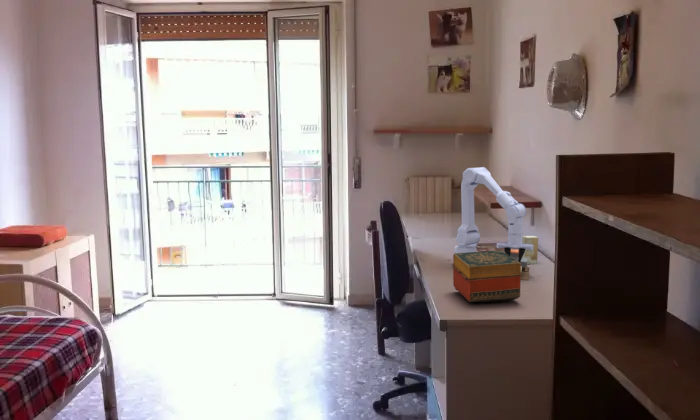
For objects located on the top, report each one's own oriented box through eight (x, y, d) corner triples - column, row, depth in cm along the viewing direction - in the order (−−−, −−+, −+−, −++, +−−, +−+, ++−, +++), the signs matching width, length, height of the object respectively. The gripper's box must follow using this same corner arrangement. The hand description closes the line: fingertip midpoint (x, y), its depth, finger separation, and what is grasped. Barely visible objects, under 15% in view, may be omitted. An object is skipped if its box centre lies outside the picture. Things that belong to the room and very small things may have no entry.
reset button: (508, 262, 259) (508, 251, 258) (509, 259, 264) (509, 249, 263) (521, 263, 258) (521, 252, 257) (521, 260, 262) (522, 249, 262)
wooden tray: (475, 276, 251) (475, 268, 251) (478, 270, 262) (478, 262, 261) (528, 280, 245) (528, 271, 244) (529, 274, 255) (529, 265, 255)
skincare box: (525, 264, 273) (526, 237, 272) (520, 262, 277) (521, 235, 276) (537, 263, 275) (538, 236, 273) (532, 261, 279) (533, 235, 278)
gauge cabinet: (502, 271, 259) (502, 260, 258) (503, 267, 267) (503, 256, 266) (526, 273, 256) (527, 261, 255) (527, 269, 264) (527, 258, 263)
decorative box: (505, 292, 231) (503, 249, 230) (524, 303, 209) (522, 255, 208) (452, 295, 230) (450, 252, 229) (465, 307, 208) (462, 259, 207)
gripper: (496, 234, 248) (495, 266, 250) (533, 236, 244) (532, 269, 245) (497, 231, 254) (496, 263, 256) (533, 233, 250) (532, 265, 252)
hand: (514, 266), depth 251 cm, fingers closed on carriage, 3 cm apart
